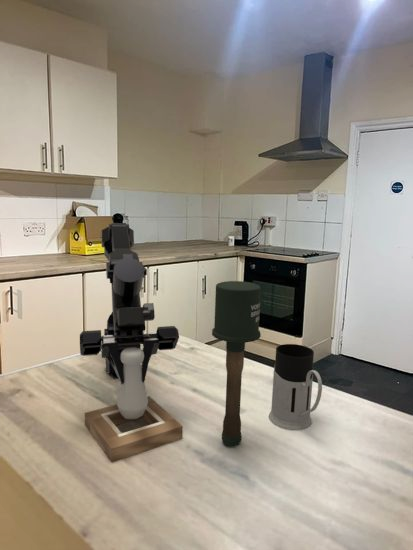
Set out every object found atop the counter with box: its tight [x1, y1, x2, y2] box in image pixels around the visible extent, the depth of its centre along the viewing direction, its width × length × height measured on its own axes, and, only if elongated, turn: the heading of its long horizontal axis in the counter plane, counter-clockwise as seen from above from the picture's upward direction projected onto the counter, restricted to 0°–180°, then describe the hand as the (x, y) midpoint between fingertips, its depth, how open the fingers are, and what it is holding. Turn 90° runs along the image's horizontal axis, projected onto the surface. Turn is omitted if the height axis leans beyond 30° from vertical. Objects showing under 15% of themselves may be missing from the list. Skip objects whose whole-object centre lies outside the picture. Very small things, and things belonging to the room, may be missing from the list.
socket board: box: [84, 395, 184, 463], centre depth 81 cm, size 14×14×3 cm
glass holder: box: [268, 343, 323, 431], centre depth 84 cm, size 9×14×15 cm, turn 18°
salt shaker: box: [116, 347, 148, 420], centre depth 80 cm, size 6×6×13 cm
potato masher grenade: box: [211, 280, 262, 448], centre depth 76 cm, size 8×9×30 cm
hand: (133, 382), depth 78 cm, fingers closed on salt shaker, 3 cm apart
